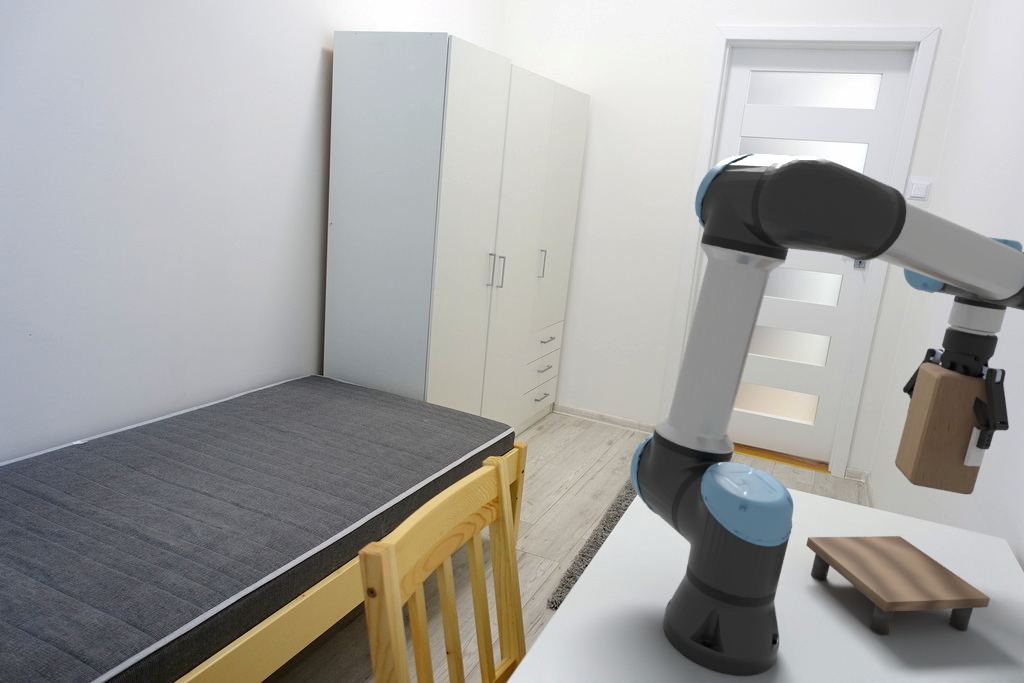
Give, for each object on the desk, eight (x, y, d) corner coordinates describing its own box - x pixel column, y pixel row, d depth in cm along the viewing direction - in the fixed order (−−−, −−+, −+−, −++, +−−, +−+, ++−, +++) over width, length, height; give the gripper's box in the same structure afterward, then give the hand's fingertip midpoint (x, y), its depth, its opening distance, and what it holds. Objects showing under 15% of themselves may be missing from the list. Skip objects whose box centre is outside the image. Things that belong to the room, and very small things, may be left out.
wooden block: (974, 497, 119) (1007, 384, 115) (910, 486, 121) (940, 373, 116) (950, 475, 129) (980, 369, 124) (891, 465, 130) (919, 360, 126)
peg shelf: (877, 639, 101) (886, 602, 100) (800, 569, 118) (808, 537, 117) (979, 634, 105) (990, 598, 104) (891, 567, 122) (899, 536, 121)
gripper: (1060, 350, 108) (1021, 480, 113) (933, 316, 131) (905, 425, 136) (1021, 347, 106) (983, 479, 111) (899, 313, 129) (872, 423, 134)
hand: (940, 449), depth 124 cm, fingers open, 12 cm apart
